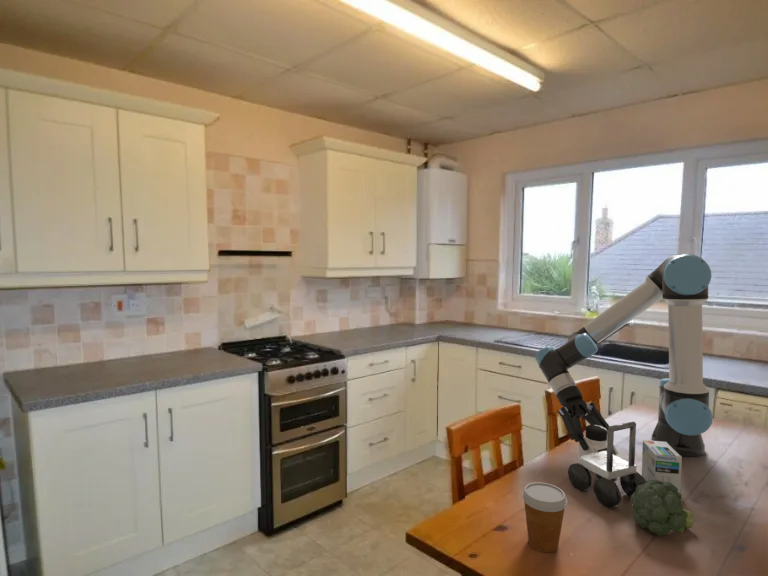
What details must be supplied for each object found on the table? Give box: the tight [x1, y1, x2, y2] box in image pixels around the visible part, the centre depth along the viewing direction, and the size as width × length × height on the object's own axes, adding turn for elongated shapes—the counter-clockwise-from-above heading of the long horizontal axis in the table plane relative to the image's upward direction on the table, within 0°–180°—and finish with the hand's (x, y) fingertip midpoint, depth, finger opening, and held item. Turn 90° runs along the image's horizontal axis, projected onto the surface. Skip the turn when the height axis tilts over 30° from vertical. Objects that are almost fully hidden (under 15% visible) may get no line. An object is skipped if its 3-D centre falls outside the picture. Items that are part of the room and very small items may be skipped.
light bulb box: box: [641, 439, 683, 494], centre depth 128 cm, size 11×7×11 cm, turn 168°
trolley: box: [567, 421, 647, 509], centre depth 123 cm, size 11×16×21 cm
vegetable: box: [630, 479, 696, 537], centre depth 108 cm, size 12×13×15 cm
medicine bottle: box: [577, 424, 615, 458], centre depth 140 cm, size 7×7×12 cm
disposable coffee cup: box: [521, 481, 568, 553], centre depth 102 cm, size 10×10×12 cm
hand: (605, 457), depth 137 cm, fingers closed on medicine bottle, 7 cm apart
